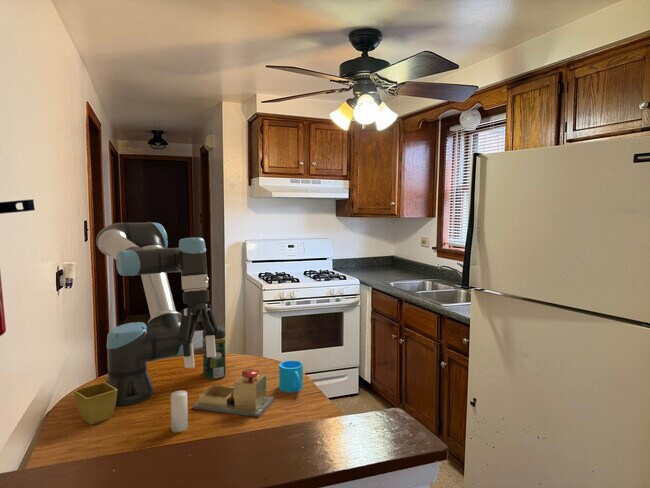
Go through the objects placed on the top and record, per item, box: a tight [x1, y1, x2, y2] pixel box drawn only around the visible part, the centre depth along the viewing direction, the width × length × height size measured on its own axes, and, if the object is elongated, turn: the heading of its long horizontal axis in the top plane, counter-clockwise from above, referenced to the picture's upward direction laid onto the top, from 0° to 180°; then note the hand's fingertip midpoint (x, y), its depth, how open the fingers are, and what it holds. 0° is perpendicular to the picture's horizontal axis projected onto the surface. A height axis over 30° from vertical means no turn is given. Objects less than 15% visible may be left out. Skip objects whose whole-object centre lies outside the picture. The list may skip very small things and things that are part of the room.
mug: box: [278, 360, 304, 393], centre depth 150 cm, size 12×8×8 cm
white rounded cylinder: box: [170, 390, 189, 433], centre depth 123 cm, size 4×4×10 cm
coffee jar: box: [202, 323, 227, 380], centre depth 162 cm, size 10×8×19 cm
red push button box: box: [192, 368, 275, 418], centre depth 138 cm, size 22×12×11 cm, turn 75°
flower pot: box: [73, 381, 118, 425], centre depth 127 cm, size 9×9×9 cm
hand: (201, 362), depth 129 cm, fingers open, 13 cm apart
